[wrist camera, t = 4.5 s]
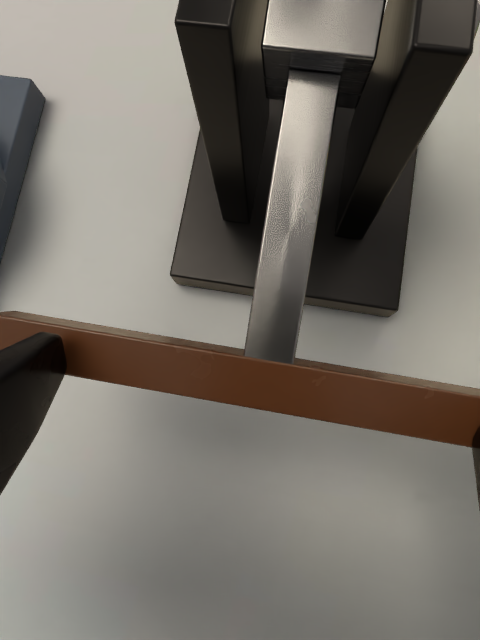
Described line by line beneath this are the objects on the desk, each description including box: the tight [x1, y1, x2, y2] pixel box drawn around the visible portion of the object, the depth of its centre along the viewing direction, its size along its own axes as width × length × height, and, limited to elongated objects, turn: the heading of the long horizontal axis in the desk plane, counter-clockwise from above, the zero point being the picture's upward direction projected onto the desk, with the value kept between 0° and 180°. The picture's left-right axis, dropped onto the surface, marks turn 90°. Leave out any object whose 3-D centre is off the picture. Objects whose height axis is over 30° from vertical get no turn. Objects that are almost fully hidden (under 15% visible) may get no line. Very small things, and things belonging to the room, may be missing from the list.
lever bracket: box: [170, 0, 480, 317], centre depth 13 cm, size 9×8×10 cm
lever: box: [0, 0, 480, 448], centre depth 10 cm, size 10×13×2 cm
